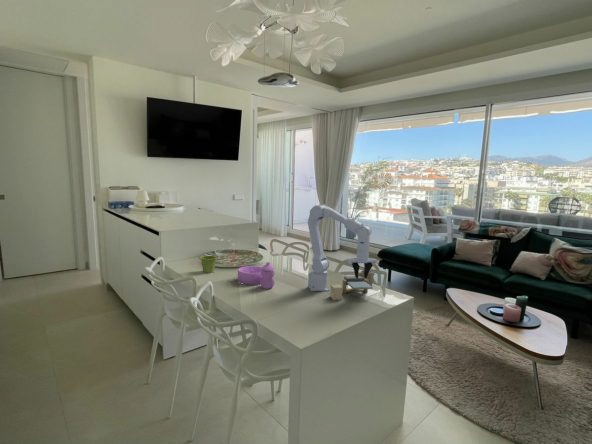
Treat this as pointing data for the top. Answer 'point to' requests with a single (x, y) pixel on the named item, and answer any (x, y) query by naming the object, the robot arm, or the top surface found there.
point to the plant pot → (208, 263)
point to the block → (336, 292)
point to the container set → (257, 275)
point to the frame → (353, 289)
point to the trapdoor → (357, 285)
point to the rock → (368, 277)
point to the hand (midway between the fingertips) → (361, 277)
